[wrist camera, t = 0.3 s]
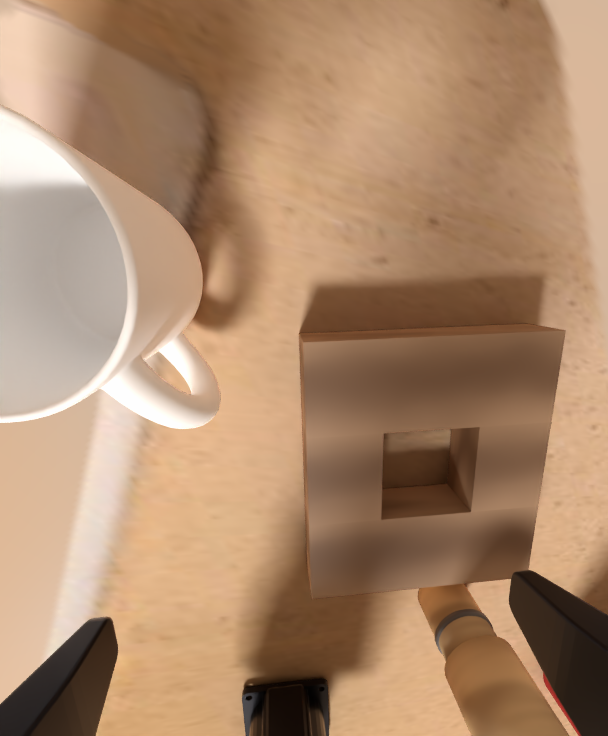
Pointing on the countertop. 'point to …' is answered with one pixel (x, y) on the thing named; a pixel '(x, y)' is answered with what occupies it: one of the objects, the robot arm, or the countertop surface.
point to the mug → (91, 287)
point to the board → (422, 413)
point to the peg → (485, 669)
